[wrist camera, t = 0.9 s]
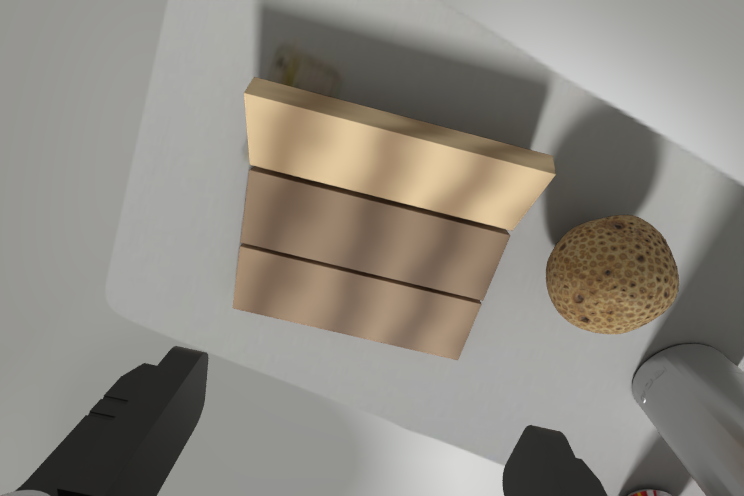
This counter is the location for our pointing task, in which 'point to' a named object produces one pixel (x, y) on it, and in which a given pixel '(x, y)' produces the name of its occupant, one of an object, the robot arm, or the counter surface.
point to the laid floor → (362, 264)
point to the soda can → (649, 493)
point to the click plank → (392, 155)
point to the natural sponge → (612, 275)
